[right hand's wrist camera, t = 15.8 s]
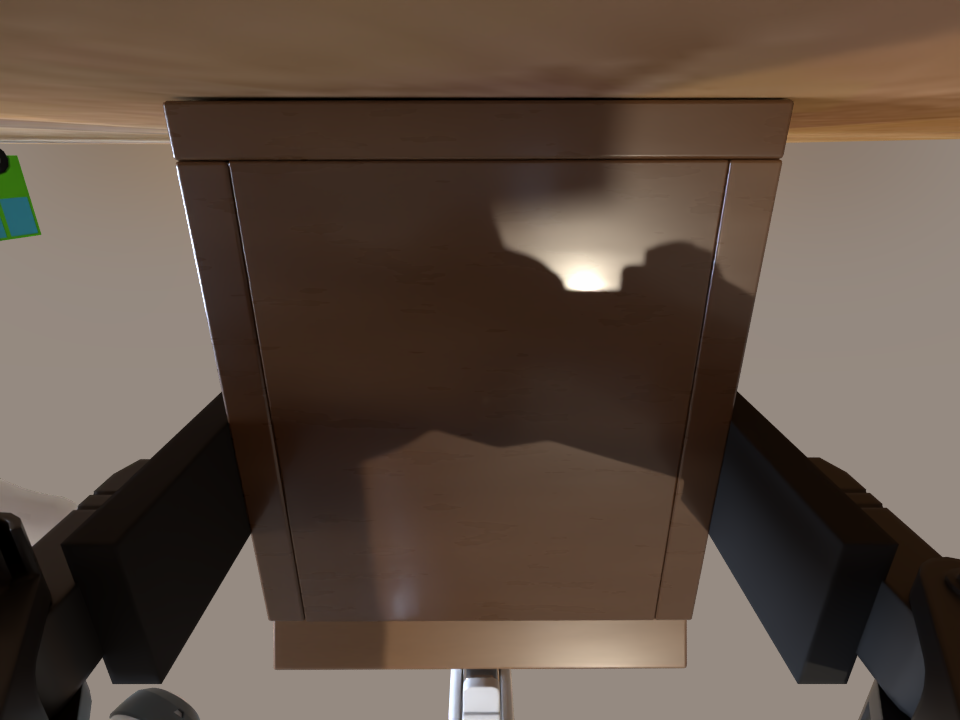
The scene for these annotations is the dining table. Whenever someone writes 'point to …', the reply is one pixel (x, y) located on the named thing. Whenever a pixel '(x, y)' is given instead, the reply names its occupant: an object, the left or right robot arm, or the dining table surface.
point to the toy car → (15, 202)
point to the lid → (479, 644)
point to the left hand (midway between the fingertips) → (481, 647)
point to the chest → (479, 343)
